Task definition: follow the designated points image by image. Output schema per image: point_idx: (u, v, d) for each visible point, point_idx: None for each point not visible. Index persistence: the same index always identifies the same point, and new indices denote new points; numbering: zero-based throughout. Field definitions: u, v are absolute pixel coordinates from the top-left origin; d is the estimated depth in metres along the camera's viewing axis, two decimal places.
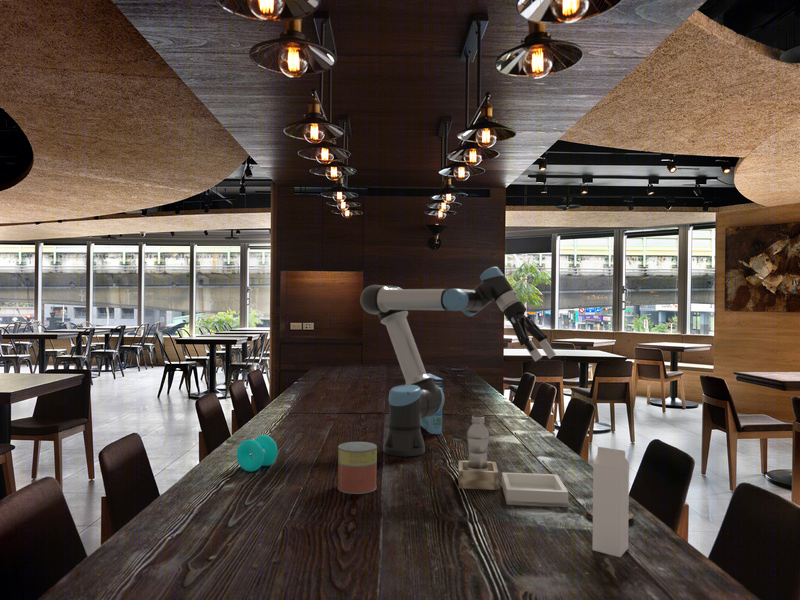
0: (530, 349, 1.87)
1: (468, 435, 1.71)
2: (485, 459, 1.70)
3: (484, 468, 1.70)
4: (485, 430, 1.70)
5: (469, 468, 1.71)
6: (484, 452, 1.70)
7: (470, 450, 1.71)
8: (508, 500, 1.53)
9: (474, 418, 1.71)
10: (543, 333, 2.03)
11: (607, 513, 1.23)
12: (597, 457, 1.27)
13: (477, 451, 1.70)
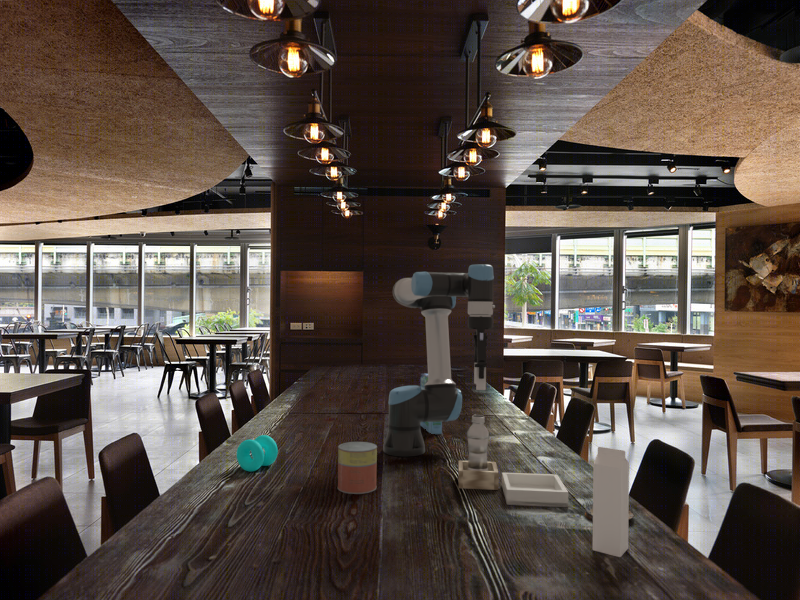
0: (481, 377, 1.64)
1: (468, 435, 1.71)
2: (485, 459, 1.70)
3: (484, 468, 1.70)
4: (485, 430, 1.70)
5: (469, 468, 1.71)
6: (484, 452, 1.70)
7: (470, 450, 1.71)
8: (508, 500, 1.53)
9: (474, 418, 1.71)
10: None
11: (607, 513, 1.23)
12: (597, 457, 1.26)
13: (477, 451, 1.70)
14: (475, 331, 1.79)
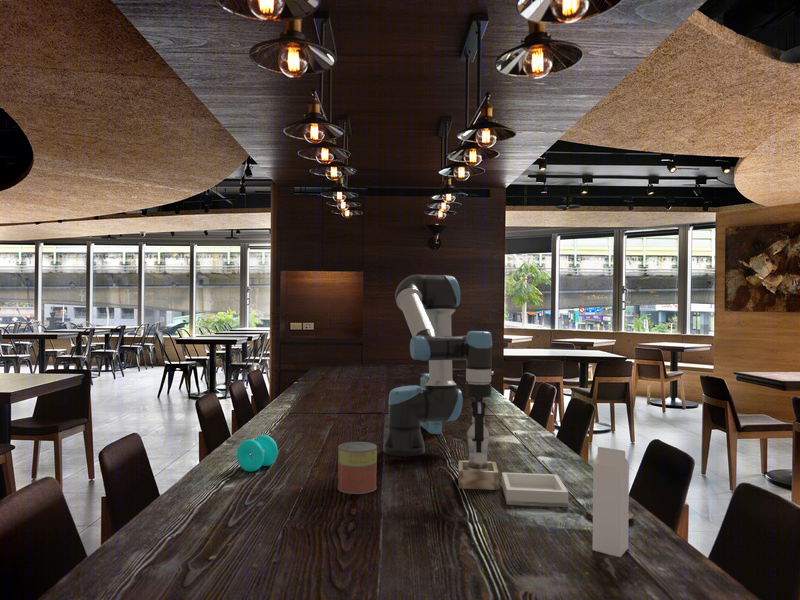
0: (478, 451, 1.67)
1: (468, 435, 1.71)
2: (485, 459, 1.70)
3: (484, 468, 1.70)
4: (485, 430, 1.70)
5: (469, 468, 1.71)
6: (484, 452, 1.70)
7: (470, 450, 1.71)
8: (508, 500, 1.53)
9: (474, 418, 1.71)
10: None
11: (607, 513, 1.23)
12: (597, 457, 1.27)
13: None
14: None
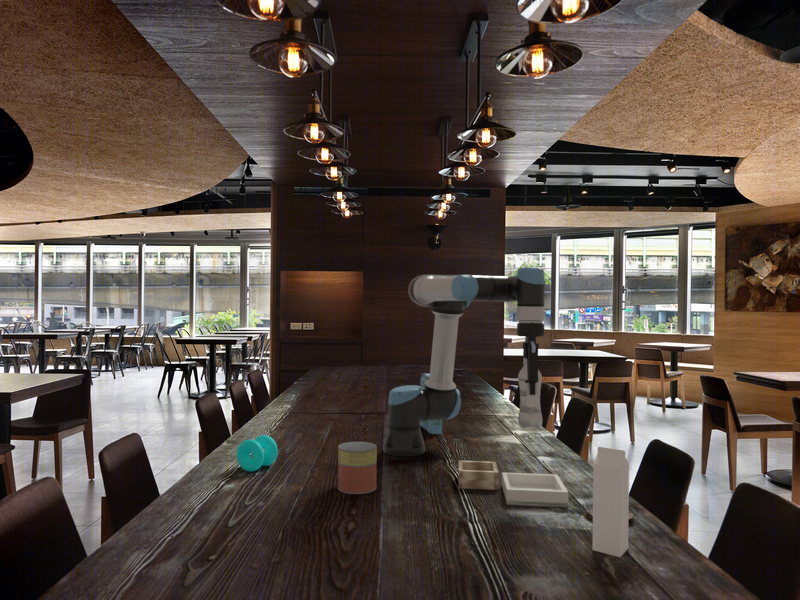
0: (532, 393, 1.57)
1: (520, 377, 1.60)
2: (538, 403, 1.60)
3: (537, 412, 1.59)
4: (538, 372, 1.60)
5: (521, 412, 1.60)
6: (537, 395, 1.59)
7: (522, 393, 1.60)
8: (508, 500, 1.53)
9: (526, 359, 1.60)
10: None
11: (607, 513, 1.23)
12: (597, 457, 1.27)
13: None
14: None
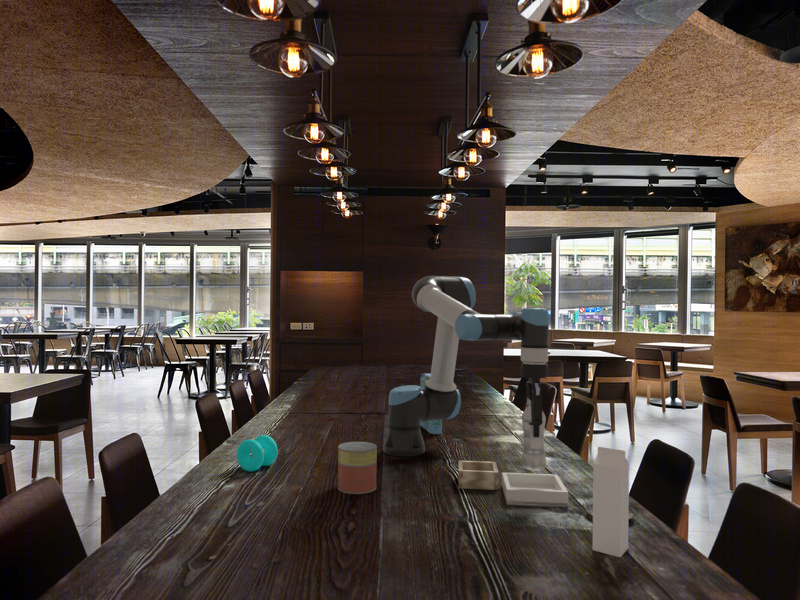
0: (536, 435, 1.56)
1: (524, 419, 1.60)
2: (542, 444, 1.59)
3: (541, 454, 1.58)
4: (542, 413, 1.59)
5: (525, 454, 1.59)
6: (541, 437, 1.59)
7: (526, 435, 1.59)
8: (508, 500, 1.53)
9: (530, 400, 1.60)
10: None
11: (607, 513, 1.23)
12: (597, 457, 1.27)
13: None
14: None
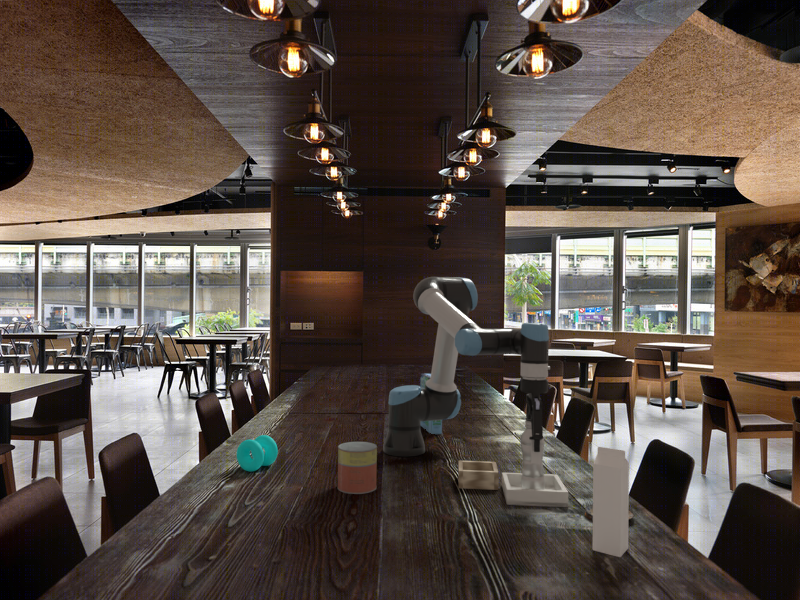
0: (537, 450, 1.54)
1: (522, 441, 1.60)
2: (541, 467, 1.59)
3: (540, 476, 1.58)
4: None
5: (524, 477, 1.59)
6: None
7: (525, 457, 1.59)
8: (508, 500, 1.53)
9: (528, 423, 1.59)
10: None
11: (607, 513, 1.23)
12: (597, 457, 1.27)
13: None
14: (527, 394, 1.67)
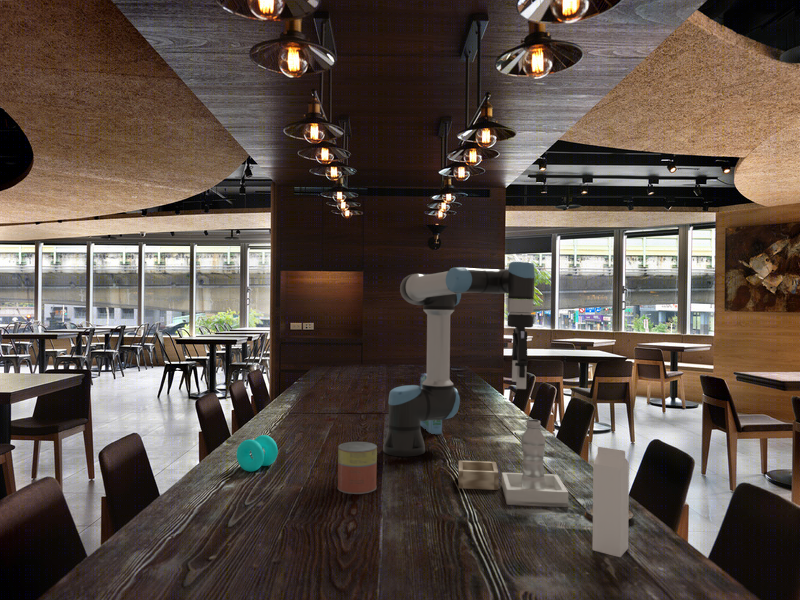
0: (522, 375, 1.63)
1: (523, 441, 1.60)
2: (542, 467, 1.59)
3: (541, 476, 1.58)
4: (542, 436, 1.59)
5: (524, 476, 1.60)
6: (541, 459, 1.59)
7: (525, 457, 1.60)
8: (508, 500, 1.53)
9: (530, 423, 1.60)
10: None
11: (607, 513, 1.23)
12: (597, 457, 1.27)
13: (534, 458, 1.58)
14: (514, 329, 1.77)
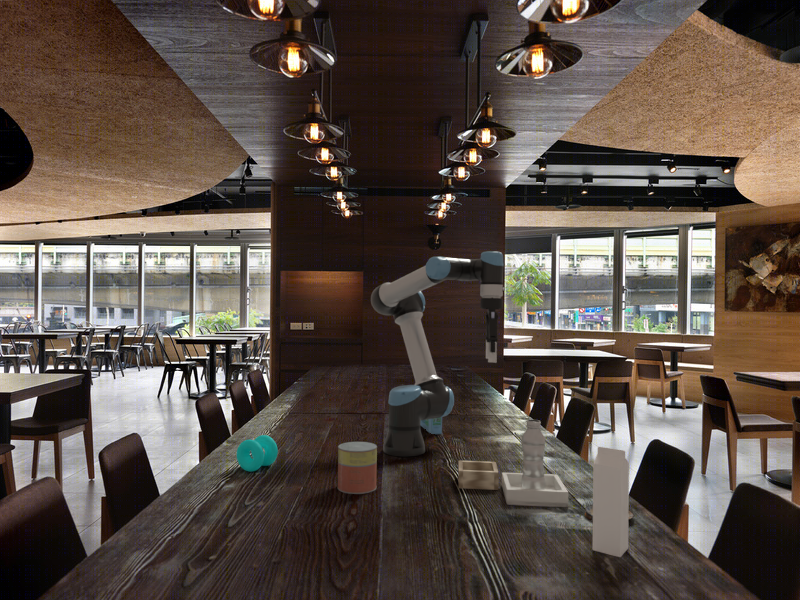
0: (492, 350, 1.86)
1: (523, 441, 1.60)
2: (542, 467, 1.59)
3: (541, 477, 1.58)
4: (542, 436, 1.59)
5: (524, 476, 1.60)
6: (541, 459, 1.59)
7: (525, 457, 1.60)
8: (508, 500, 1.53)
9: (530, 423, 1.60)
10: None
11: (607, 513, 1.23)
12: (597, 457, 1.27)
13: (534, 458, 1.58)
14: None
